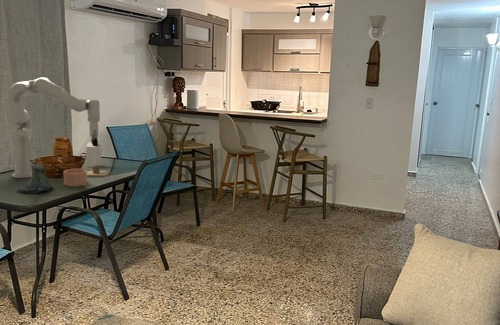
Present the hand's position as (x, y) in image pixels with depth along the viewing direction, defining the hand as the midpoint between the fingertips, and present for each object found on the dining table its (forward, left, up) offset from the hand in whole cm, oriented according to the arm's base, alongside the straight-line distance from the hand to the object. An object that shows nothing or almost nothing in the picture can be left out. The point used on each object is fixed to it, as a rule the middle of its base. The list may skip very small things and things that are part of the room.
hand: (94, 144), depth 289 cm
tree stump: (+28, -35, -21) cm, 50 cm away
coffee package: (-29, -18, -21) cm, 40 cm away
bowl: (+19, -13, -21) cm, 31 cm away
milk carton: (-29, +2, -21) cm, 36 cm away
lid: (-1, +1, -20) cm, 20 cm away
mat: (-1, +1, -21) cm, 21 cm away
